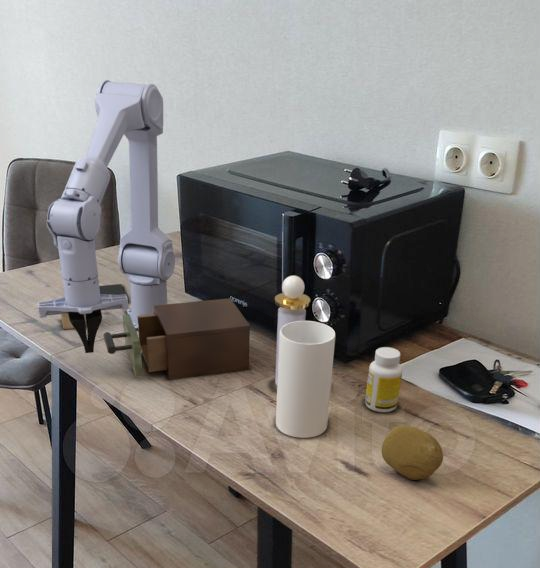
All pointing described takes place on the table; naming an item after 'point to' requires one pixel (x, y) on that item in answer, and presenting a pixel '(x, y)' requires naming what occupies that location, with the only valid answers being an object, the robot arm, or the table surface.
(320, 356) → the cup
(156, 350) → the drawer
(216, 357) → the cabinet
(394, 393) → the supplement bottle
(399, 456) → the potato
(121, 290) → the mat
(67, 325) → the block
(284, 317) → the perfume bottle
